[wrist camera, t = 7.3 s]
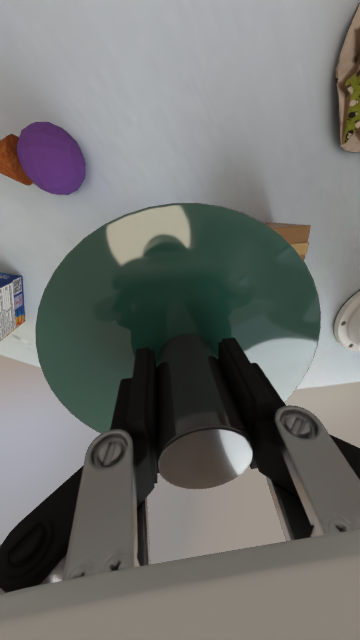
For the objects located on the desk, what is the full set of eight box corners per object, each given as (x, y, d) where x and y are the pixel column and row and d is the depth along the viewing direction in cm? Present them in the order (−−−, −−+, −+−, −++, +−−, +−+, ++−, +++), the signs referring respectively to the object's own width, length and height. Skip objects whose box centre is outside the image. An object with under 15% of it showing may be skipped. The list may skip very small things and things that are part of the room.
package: (274, 222, 30) (312, 225, 23) (270, 257, 32) (303, 269, 25) (233, 225, 30) (258, 229, 22) (231, 260, 32) (254, 273, 24)
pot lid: (333, 191, 10) (595, 156, 4) (287, 418, 16) (362, 533, 10) (-4, 218, 9) (-301, 228, 3) (87, 445, 15) (45, 588, 9)
